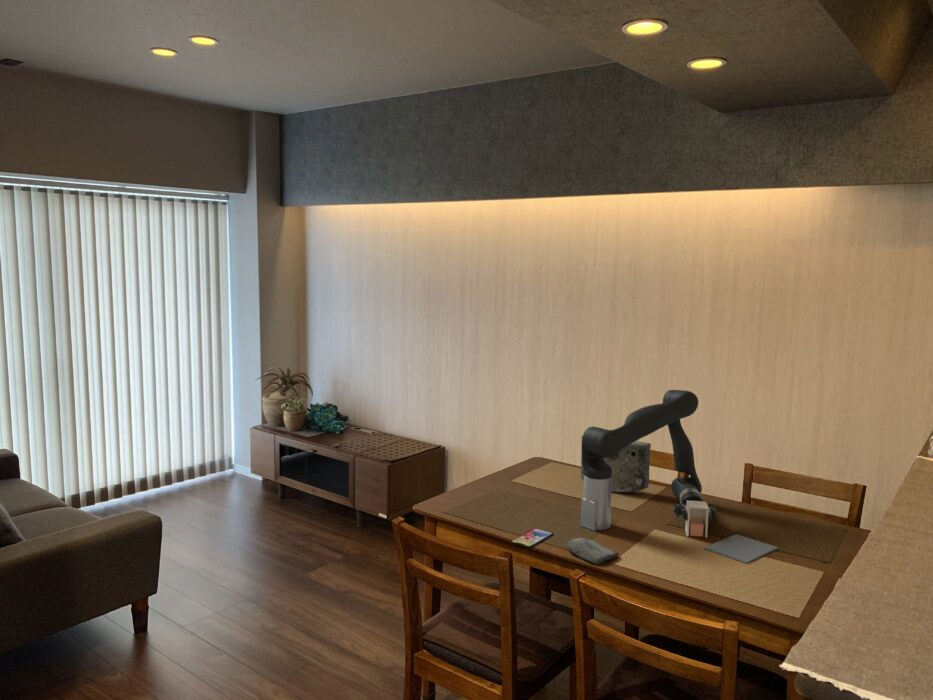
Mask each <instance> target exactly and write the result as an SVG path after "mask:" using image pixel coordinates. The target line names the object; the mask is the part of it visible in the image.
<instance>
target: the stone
mask: <svg viewBox="0 0 933 700" xmlns="http://www.w3.org/2000/svg"><path fill="white" fill-rule="evenodd" d="M566 547H567V549H568V550H569V551H570V552H571V553H573V554H574V555H576V556H577V557H579V558H581V559H583V560H585V561H588V562H589V563H592V564H595V566H600V565H602V564H604V563H606V562H607V561H609V560H614V559H615V558H616V557H617V556H619V555H620V553H619V552H618V551H615V550H614V549H611V548H608V547H606V546H603V545H602V544H601V543H600V542H597V541H595V540H593V539H590V538H585V537H578V538H571V539H569V540H568V541H567V542H566Z"/></svg>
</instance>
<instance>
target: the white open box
mask: <svg viewBox="0 0 933 700" xmlns="http://www.w3.org/2000/svg"><path fill="white" fill-rule="evenodd" d="M703 501H704V500H703ZM703 501H688V500H686V511H687V513H688V521H685V523H684V525H685V526H684V531H685V534H686V537H689V536H690V533H689V520H700V521H702V522H703V525H704V528H703V536H704V537H705V538H706V539H707V538H708V529H709V527H708V526H709V522H708V511H709V508H710V507H709V505H708V503H707V501H704V502H703ZM708 507H709V508H708Z"/></svg>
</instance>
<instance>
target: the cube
mask: <svg viewBox="0 0 933 700" xmlns="http://www.w3.org/2000/svg"><path fill="white" fill-rule="evenodd" d="M703 528H704V525H703V522H702V521H700V520H689V536H691V537H704V532H703Z"/></svg>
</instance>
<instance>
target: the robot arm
mask: <svg viewBox="0 0 933 700" xmlns="http://www.w3.org/2000/svg"><path fill="white" fill-rule="evenodd" d="M698 408H699V398H698V396H697V395H696V394H695V393H694V392H692V391H689V390H684V389H683V390H681V389H669V390H667V391H666V392H665V393H664V395H663V399H662V403H657V404H650V405H646V406H644V407H641V408H638V409H636V410H635V411H633V412H630V414H628V415H627V417H626V418H625V420H624V424H622V425H621V426H619V427H617V428H615V429H606V428H602V427H598V426H589V427H587V429H585V431H584V432H583V435H582V436H583V437H582V436H581V449H582V452H581V453H582V467H583V469H584V481H583V494H582V495H583V496H582V497H581V499H580V526H581V527H584V528H586V529H589V530H591V531H595V532H596V531H605V530H608V529H609V528H611V517H612V516H611V514H612V468H611V467H610V466H609V465H608V464H607V463H606V462H605V461H604V459H603V458H608V457H611V456H613V455H615V454H616V453H618V452H619V451H621V450H622V449H624V448H625V447H626V446H628V445H629V444H631V443H633V442H635V441H639V440H640V439H642V438H645V437H647V436H649V435H651V434H653V433H654V432H656V431H658V430H660V429H662V428H664V427H666V426H667V428H668V429H667V430H668V431H669V436H670V440H671V444H672V451H673V461H674V469H675V470H676V471H677V473H684V474H686V475H689V476H688V477H685V476H684V477H677V478H674V479H673V480H672V481H671V485H670V486H671V489H670V490H671V492H672V495H674V496H675V498H676V499H678V500H679V504H678V503H677V502H674V503H673V504H672V511H673V513H674V515H675V516H676V517H680V516H681V517H682V520H685V521H688V513H687V511H686V500H688V501H703V502H705V501H704V500H703V499H704V498H703V497H702V490H703V487H702V483H701V481H700V478H699V475H698V474H697V470H696V466H695V457H694V454H695V453H694V448H693V445H692V442H691V441H690V439H689V437H688V436H687V434H686V432H685V430H684V428H683V426H682V422H681V419H684V418H688V417H690V416H692V415H693V414H694V413H695V412H696V411H697V409H698ZM708 508H709V511H708V523H710V522H711V521H712V519H716V517H717V516H716V513H717V508H716V506H715V505H711V506H710V507H709V506H708Z"/></svg>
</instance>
